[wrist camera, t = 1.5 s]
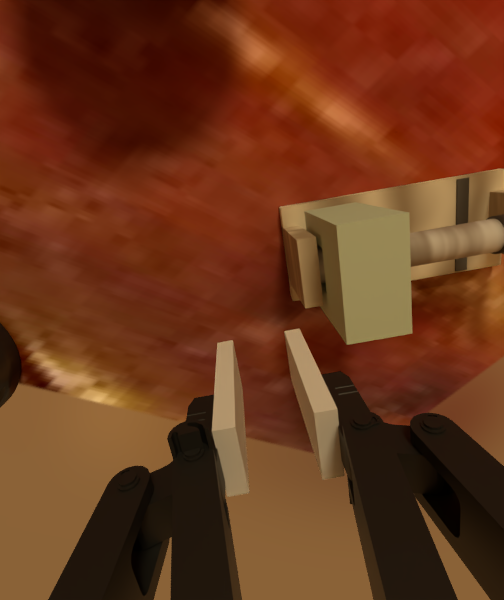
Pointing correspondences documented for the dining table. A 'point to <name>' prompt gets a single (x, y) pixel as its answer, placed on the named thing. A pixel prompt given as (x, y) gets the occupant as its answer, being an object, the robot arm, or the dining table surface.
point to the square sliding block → (364, 269)
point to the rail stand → (411, 229)
